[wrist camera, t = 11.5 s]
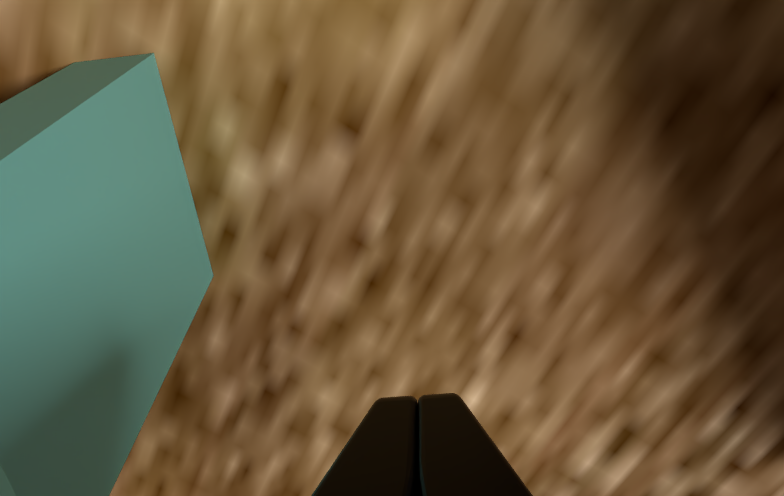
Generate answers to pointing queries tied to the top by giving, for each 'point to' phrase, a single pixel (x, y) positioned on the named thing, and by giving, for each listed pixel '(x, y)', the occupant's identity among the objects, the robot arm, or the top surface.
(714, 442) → the top surface
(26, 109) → the teal domino
